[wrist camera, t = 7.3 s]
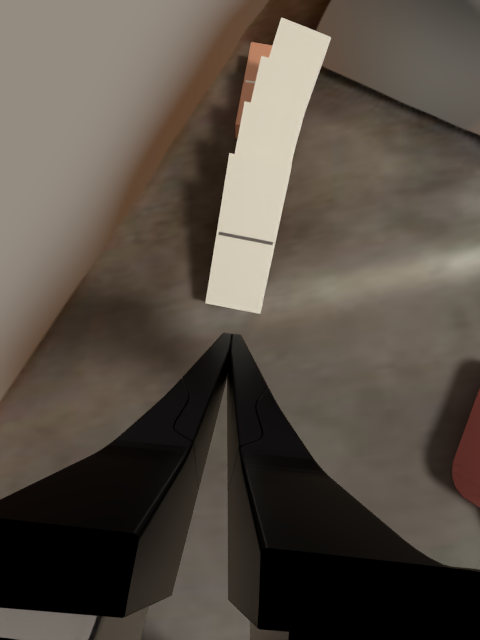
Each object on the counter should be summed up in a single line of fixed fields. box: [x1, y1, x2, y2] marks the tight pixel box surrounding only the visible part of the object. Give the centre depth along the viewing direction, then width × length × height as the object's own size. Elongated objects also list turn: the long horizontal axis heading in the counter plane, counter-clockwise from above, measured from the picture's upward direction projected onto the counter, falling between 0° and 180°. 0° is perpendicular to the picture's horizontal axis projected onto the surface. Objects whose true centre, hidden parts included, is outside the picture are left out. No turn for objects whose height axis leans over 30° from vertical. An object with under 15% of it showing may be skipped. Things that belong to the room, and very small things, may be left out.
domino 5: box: [235, 42, 272, 139], centre depth 21 cm, size 2×5×12 cm
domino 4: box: [269, 18, 331, 111], centre depth 18 cm, size 2×5×12 cm
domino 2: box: [235, 101, 303, 165], centre depth 17 cm, size 2×5×12 cm
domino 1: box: [205, 153, 292, 314], centre depth 16 cm, size 2×5×12 cm
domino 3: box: [251, 56, 316, 140], centre depth 18 cm, size 2×5×12 cm
